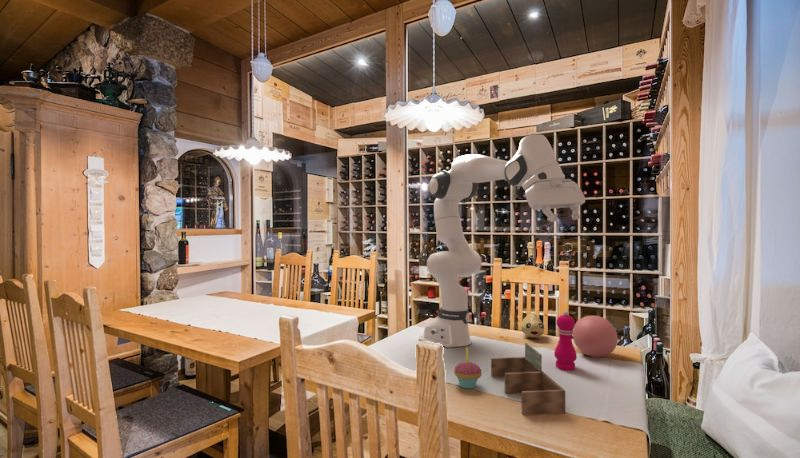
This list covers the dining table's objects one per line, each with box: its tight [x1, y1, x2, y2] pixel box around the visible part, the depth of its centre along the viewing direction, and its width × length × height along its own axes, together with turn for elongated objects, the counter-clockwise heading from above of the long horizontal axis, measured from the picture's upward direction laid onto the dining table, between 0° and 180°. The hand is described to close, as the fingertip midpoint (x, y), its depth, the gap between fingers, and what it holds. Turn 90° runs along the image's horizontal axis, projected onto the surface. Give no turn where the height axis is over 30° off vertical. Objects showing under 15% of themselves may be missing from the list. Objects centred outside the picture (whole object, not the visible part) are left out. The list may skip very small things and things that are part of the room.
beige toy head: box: [520, 313, 545, 340], centre depth 173 cm, size 10×12×11 cm
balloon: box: [572, 315, 619, 358], centre depth 152 cm, size 15×20×15 cm
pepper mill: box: [554, 310, 577, 372], centre depth 138 cm, size 7×7×20 cm
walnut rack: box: [490, 343, 566, 416], centre depth 118 cm, size 12×26×11 cm, turn 5°
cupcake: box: [453, 347, 482, 389], centre depth 123 cm, size 9×8×12 cm
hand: (565, 220), depth 118 cm, fingers open, 8 cm apart
